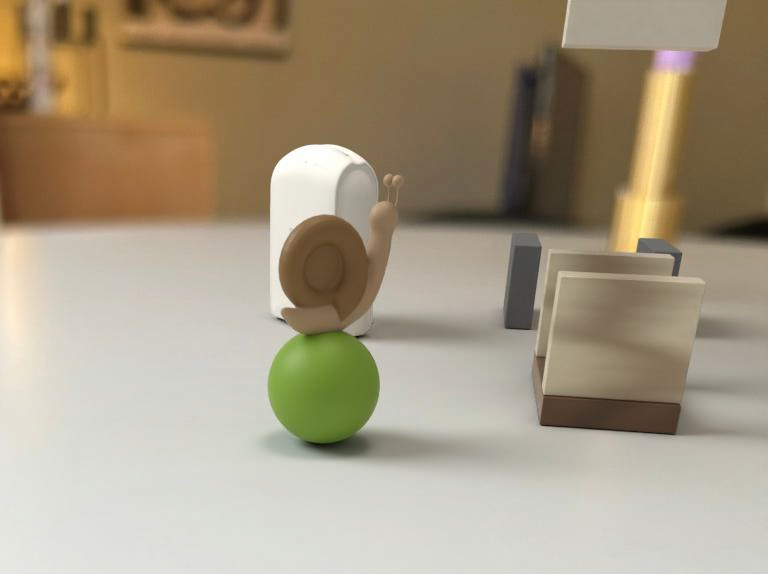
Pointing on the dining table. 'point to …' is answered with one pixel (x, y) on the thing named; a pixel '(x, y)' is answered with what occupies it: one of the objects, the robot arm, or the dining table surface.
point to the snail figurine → (330, 323)
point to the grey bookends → (527, 268)
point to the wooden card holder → (614, 340)
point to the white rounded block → (319, 204)
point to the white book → (644, 24)
